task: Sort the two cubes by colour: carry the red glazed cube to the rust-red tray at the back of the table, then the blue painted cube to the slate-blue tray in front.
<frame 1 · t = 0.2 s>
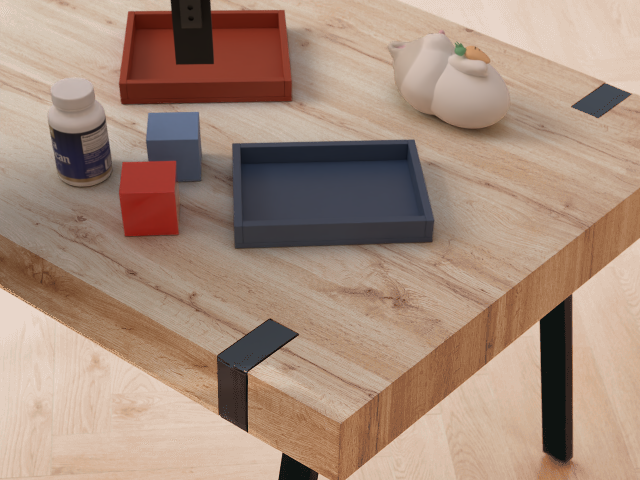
hand: (196, 17, 83), 24 cm above the table, tool pointing down, fingers open, 13 cm apart
animal figurine with carrot: (443, 113, 120), on the table
blue tray: (329, 201, 106), on the table
red tray: (207, 64, 125), on the table
red cube: (152, 219, 103), on the table
blue cube: (176, 167, 109), on the table
pill bottle: (85, 174, 108), on the table
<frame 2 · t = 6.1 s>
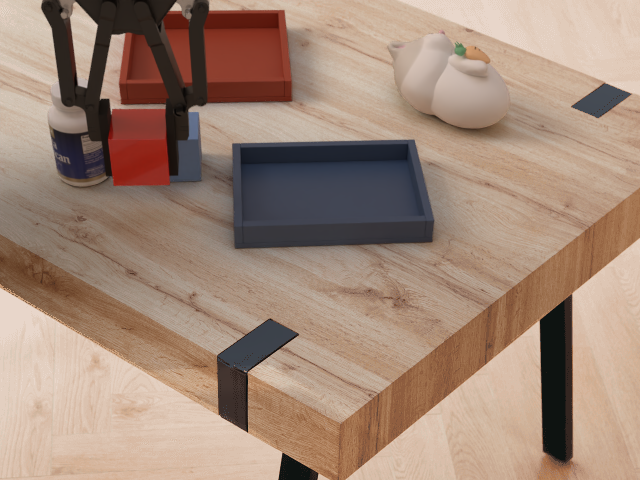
hand: (142, 167, 99), 6 cm above the table, tool pointing down, fingers closed on red cube, 5 cm apart
red cube: (143, 169, 99), point 6 cm above the table, touching gripper
everything else where it was.
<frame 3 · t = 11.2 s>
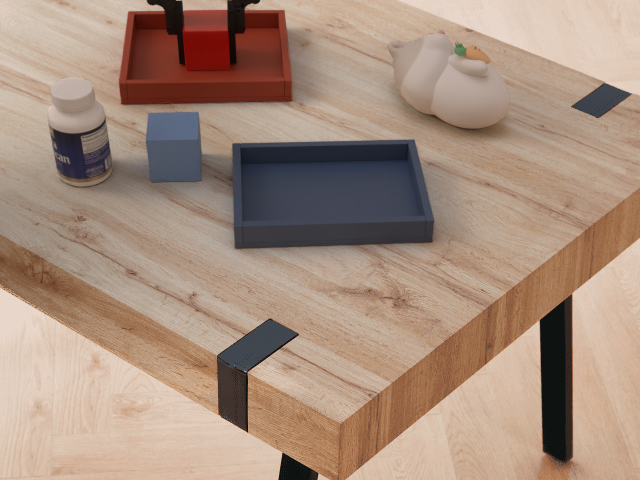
hand: (208, 57, 124), 1 cm above the table, tool pointing down, fingers closed on red cube, 5 cm apart
red cube: (208, 59, 124), point 1 cm above the table, touching gripper
everything else where it was.
when the fingers open (1 cm above the table, at t = 11.6 s): red cube stays where it is, resting on red tray.
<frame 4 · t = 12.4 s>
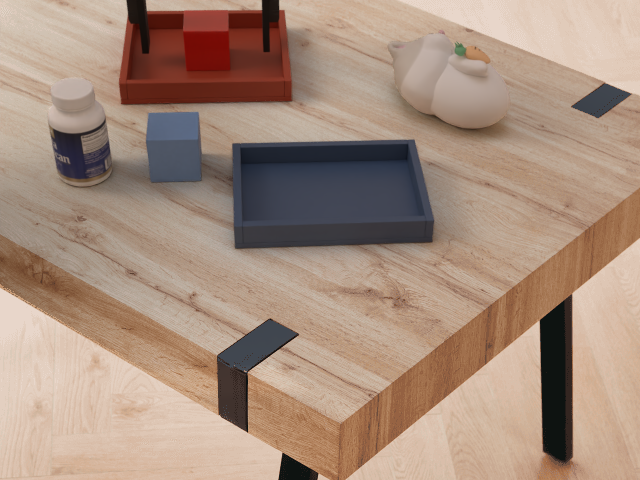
hand: (206, 47, 123), 2 cm above the table, tool pointing down, fingers open, 13 cm apart
red cube: (208, 59, 124), point 1 cm above the table, touching red tray
everything else where it was.
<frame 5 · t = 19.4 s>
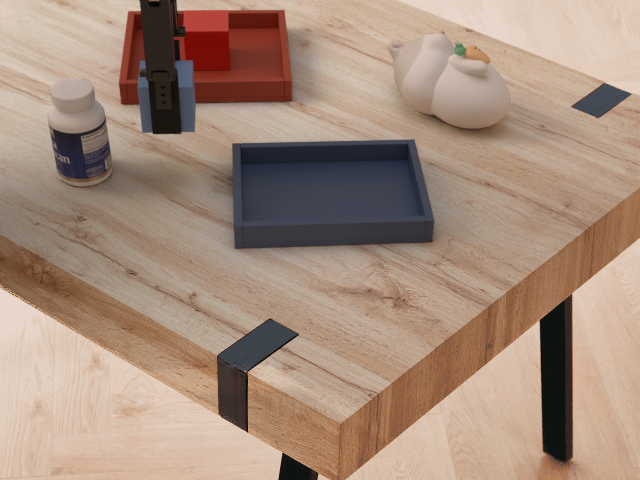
hand: (168, 115, 105), 6 cm above the table, tool pointing down, fingers closed on blue cube, 5 cm apart
blue cube: (169, 118, 105), point 6 cm above the table, touching gripper
everything else where it was.
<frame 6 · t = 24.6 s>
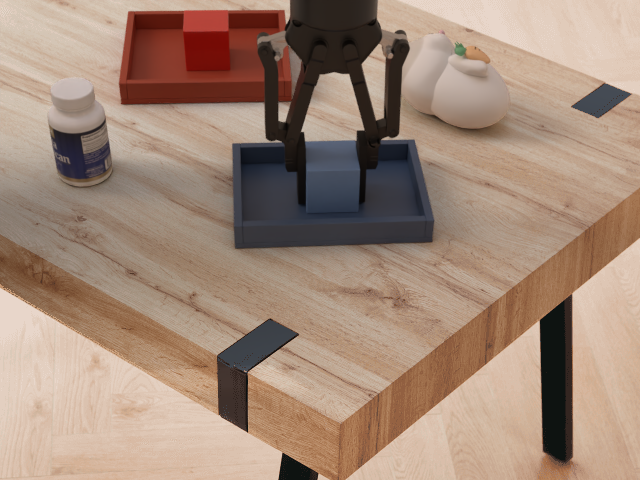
hand: (330, 194, 105), 1 cm above the table, tool pointing down, fingers closed on blue cube, 5 cm apart
blue cube: (330, 197, 106), point 1 cm above the table, touching blue tray, gripper
everything else where it was.
when the fingers open (1 cm above the table, at t = 24.6 s): blue cube stays where it is, resting on blue tray.
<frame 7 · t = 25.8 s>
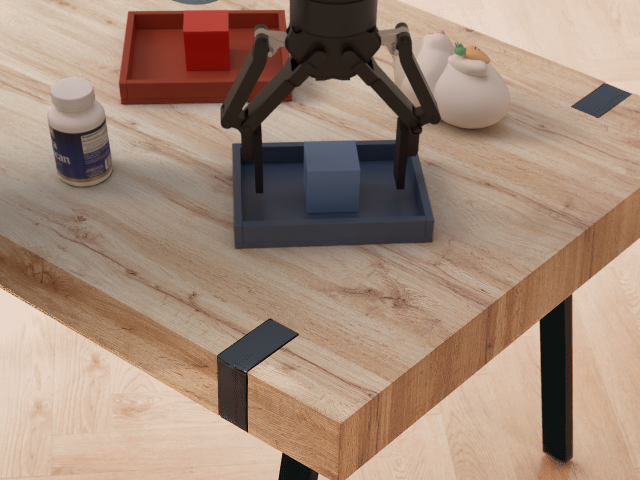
hand: (329, 183, 105), 2 cm above the table, tool pointing down, fingers open, 13 cm apart
blue cube: (330, 197, 106), point 1 cm above the table, touching blue tray
everything else where it was.
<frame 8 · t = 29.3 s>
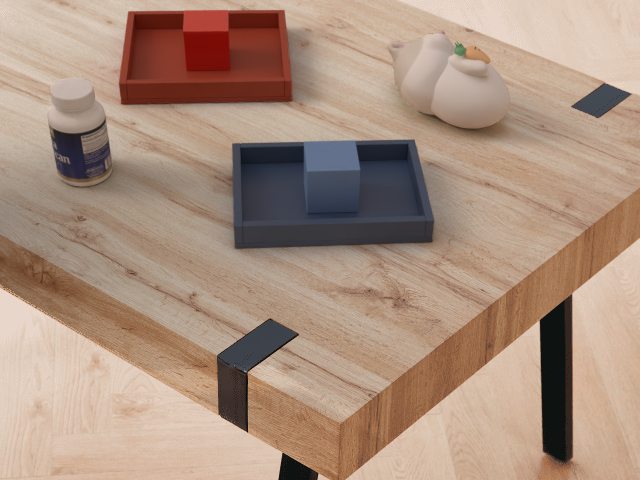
nothing on the table moved.
at the end: red cube inside the target area in the red tray (0.1 cm from its centre), point 0.6 cm above the red tray's base; blue cube inside the target area in the blue tray (0.1 cm from its centre), point 0.6 cm above the blue tray's base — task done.
